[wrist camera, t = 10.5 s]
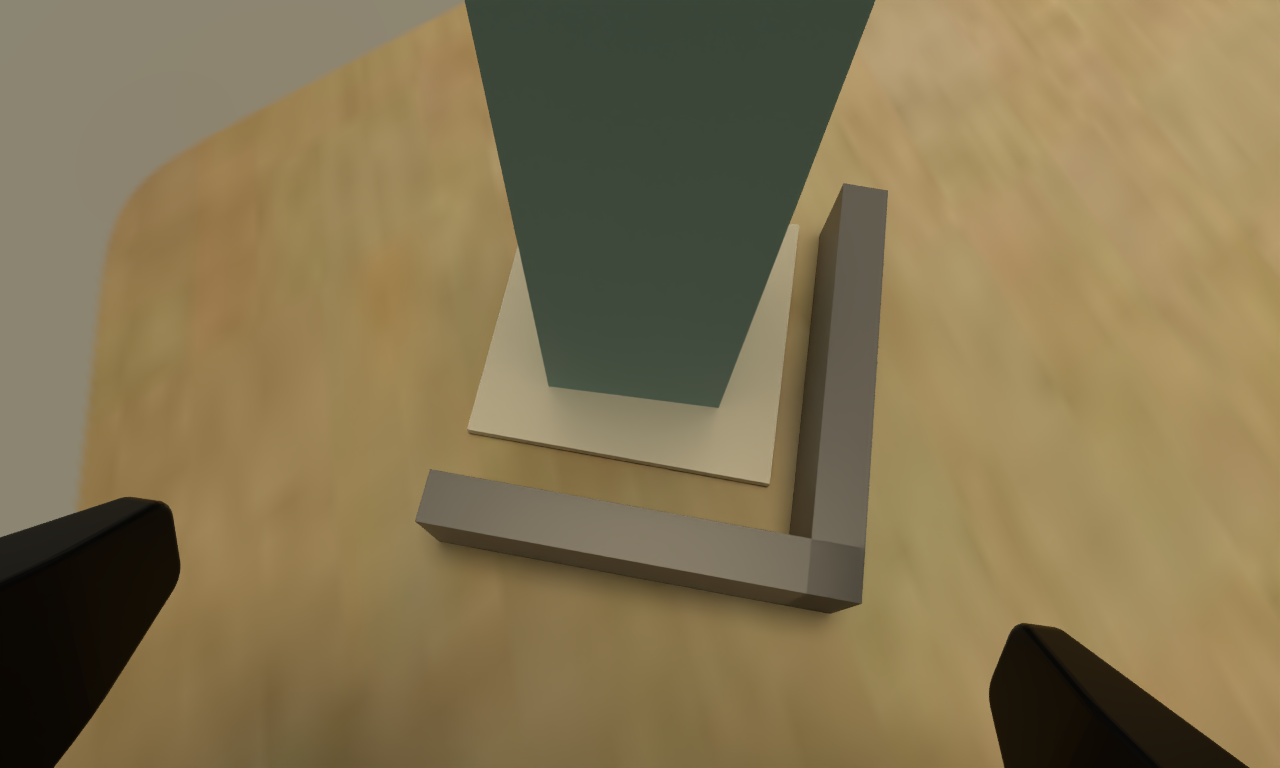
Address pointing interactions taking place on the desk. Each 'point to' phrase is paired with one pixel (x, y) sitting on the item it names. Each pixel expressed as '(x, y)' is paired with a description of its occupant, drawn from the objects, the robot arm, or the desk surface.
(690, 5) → the teal block
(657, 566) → the corner arena
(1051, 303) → the desk surface
